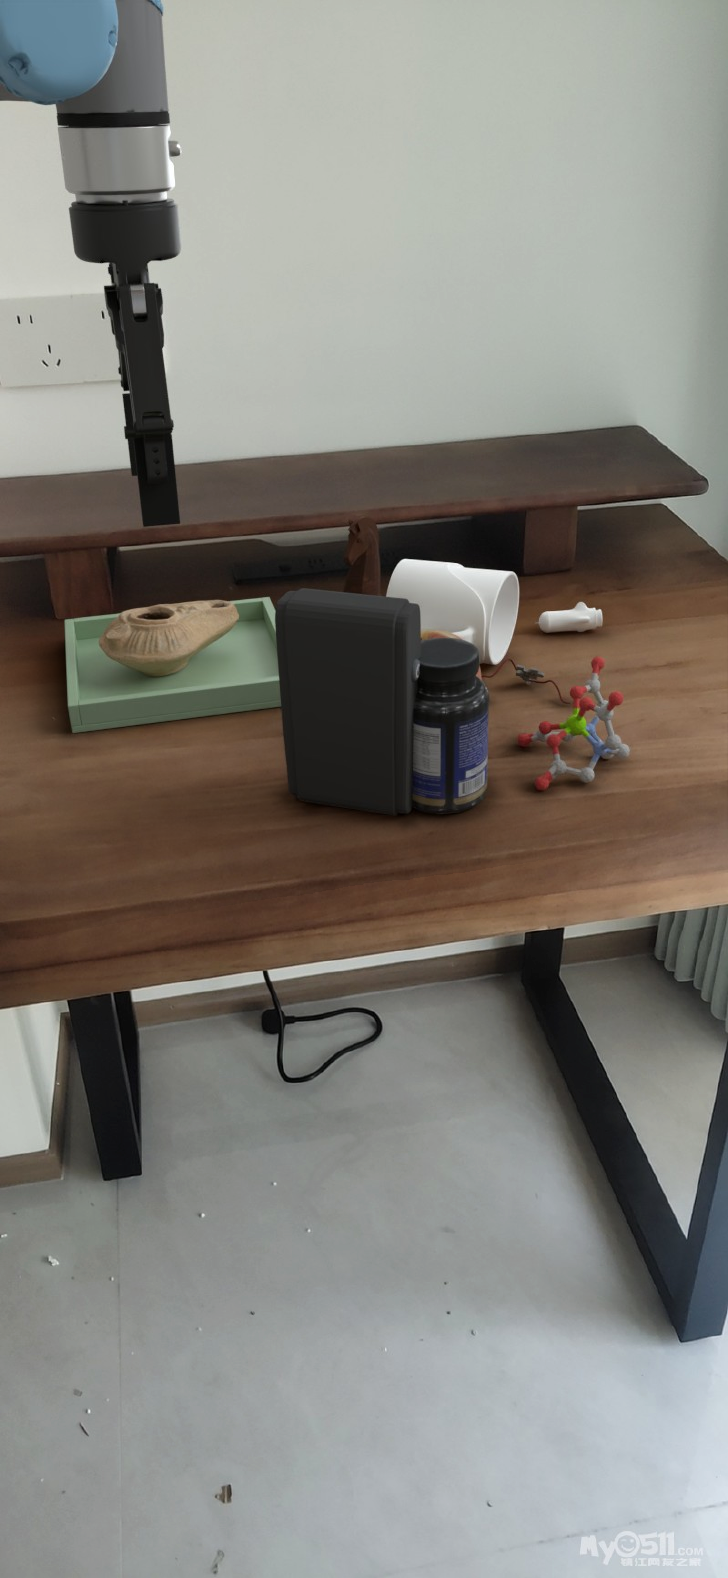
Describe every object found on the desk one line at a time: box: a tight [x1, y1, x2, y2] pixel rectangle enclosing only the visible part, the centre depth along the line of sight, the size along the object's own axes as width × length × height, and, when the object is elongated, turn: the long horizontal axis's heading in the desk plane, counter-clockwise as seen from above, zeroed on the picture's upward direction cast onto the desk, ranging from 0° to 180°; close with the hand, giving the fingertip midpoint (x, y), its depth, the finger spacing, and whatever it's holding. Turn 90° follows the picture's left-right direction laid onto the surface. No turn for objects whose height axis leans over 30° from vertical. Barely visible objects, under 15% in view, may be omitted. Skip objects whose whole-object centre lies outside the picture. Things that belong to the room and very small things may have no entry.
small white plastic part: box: [536, 601, 603, 634], centre depth 106 cm, size 4×6×3 cm, turn 66°
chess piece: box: [342, 515, 383, 596], centre depth 107 cm, size 5×5×10 cm
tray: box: [64, 596, 281, 734], centre depth 101 cm, size 19×18×2 cm
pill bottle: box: [412, 638, 490, 815], centre depth 80 cm, size 6×6×11 cm
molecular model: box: [516, 656, 631, 791], centre depth 84 cm, size 7×8×8 cm
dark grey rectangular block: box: [275, 587, 421, 817], centre depth 79 cm, size 9×4×15 cm, turn 72°
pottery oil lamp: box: [99, 599, 239, 677], centre depth 100 cm, size 9×12×7 cm
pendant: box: [481, 658, 571, 705], centre depth 96 cm, size 8×4×3 cm
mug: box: [385, 558, 520, 666], centre depth 99 cm, size 12×9×8 cm
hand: (154, 497), depth 93 cm, fingers open, 13 cm apart
